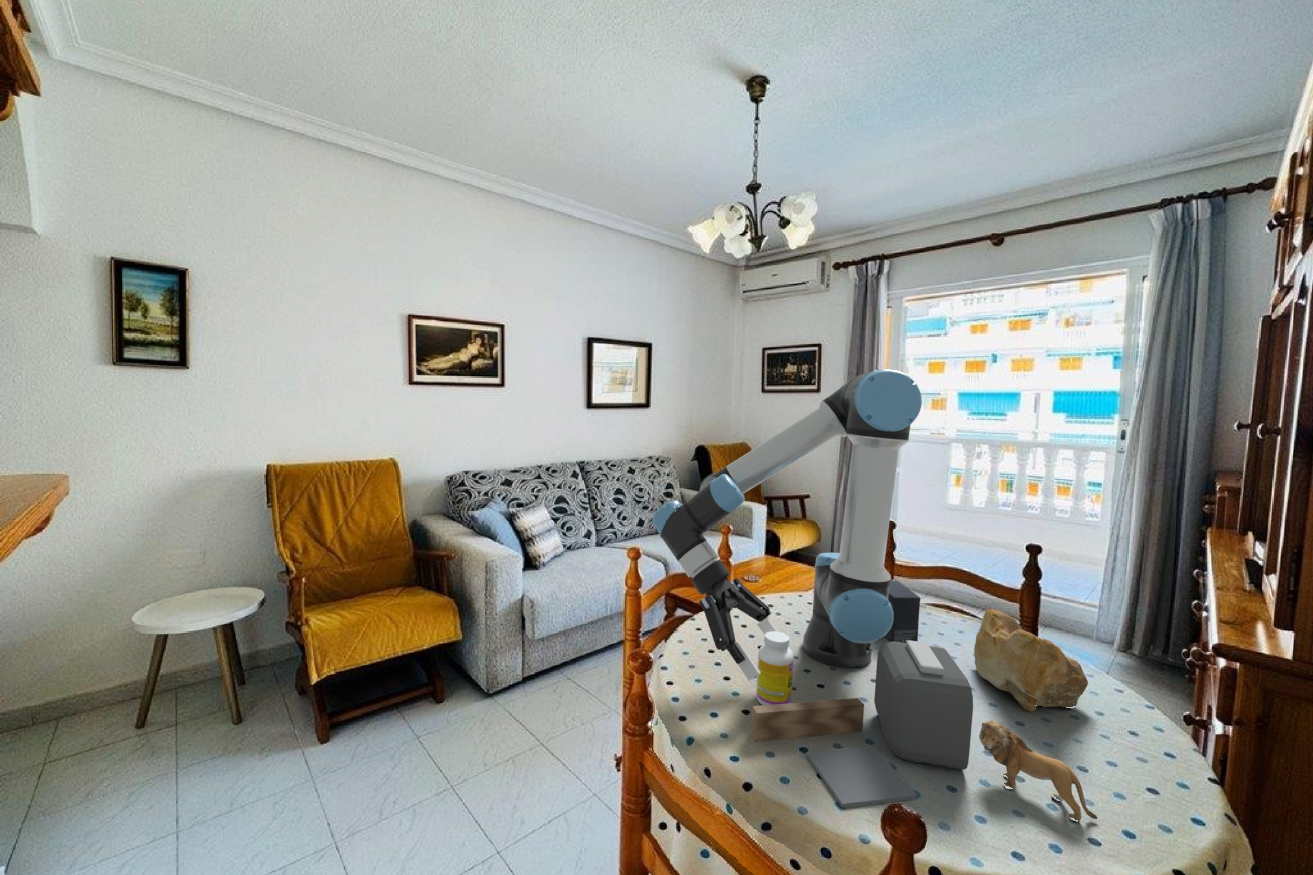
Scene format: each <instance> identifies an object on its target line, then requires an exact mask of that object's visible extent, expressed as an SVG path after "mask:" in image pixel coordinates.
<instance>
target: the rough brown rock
mask: <svg viewBox="0 0 1313 875" xmlns="http://www.w3.org/2000/svg"><path fill="white" fill-rule="evenodd" d="M973 656H974V665H975V669H976V671H977V673H978V675H979V676H980V677H981V678H983V679H984V680H987V681H988V682H990V684H992V685H993V687H994V688H996V689H998V690H1001V691H1004V692H1007V693H1009V694H1011V695H1012V696H1013V698H1014V699H1015V700H1016V701H1017V703H1018V704H1019V706H1021V707H1022V708H1023V709H1024V710H1025V709H1026V710H1028V711H1027V712H1034V711H1036V710H1037V709H1036V708H1037V707H1038V706H1043V707H1042V708H1051V707H1054V708H1055V707H1062V708H1064V707H1065V708H1064V709H1067V708H1066V707H1073V706H1076V705H1077V706H1078V701H1079V699H1080V697H1081V696H1082V695H1083V694H1084V692H1085V690H1086V689H1087V687H1088V686H1089V681H1088V678H1087V677H1086V674H1085V672H1084V671H1083V668H1082V665H1081V664H1080V663H1079V662H1078V660H1075V659H1073V658H1071V657H1068V656H1066V655H1065V654H1064V652H1063V651H1062V649H1061V647H1059V646H1058V645H1056V644H1055V643H1054V642H1052V641H1051V640H1049V639H1046V638H1041V637H1038V636H1036V635H1035V634H1033V633H1031V632H1029V631H1026V630H1024V629H1023V628H1022V626H1021V625H1020V624H1019V623H1018V622H1017V621H1016V619H1015V617H1012V616H1011V615H1008V614H1007V613H1004V612H1002V611H1001V610H997V609H994V608H988V609H985V612H984V614H983V617H982V620H981V624H980V628H979V631H978V632H977V633H976V637H975V644H974V648H973ZM1036 705H1037V706H1036ZM1077 706H1076V707H1077ZM1026 710H1025V711H1026ZM1033 710H1034V711H1033Z"/></svg>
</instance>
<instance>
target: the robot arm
mask: <svg viewBox="0 0 1313 875" xmlns="http://www.w3.org/2000/svg"><path fill="white" fill-rule="evenodd" d="M922 402H923V400H922V393H921V390H920V388H919V386H918V385H917V382H915V381H914V379H912V378H911V376H909V375H907V374H906V373H904V372H902V371H899V370H895V369H888V368H886V369H879V368H878V369H874V370H873V371H870V372H864V373H861V374H858V375H856V376H854V377H852V378H851V379H850V380H848V381H847V382H846V383H845V384H844V385H842V386H840V387H839V389H837V390H836V391H834V392H833V393H831V394H829V396H827V397H826V398H824V399H822V400H821V401H820V402H819V407H818V408H817V409H815V410H814V411H812V412H810V413H809V414H807V415H806V416H804V417H803V418H801V419H799V420H798V421H796V422H794V423H793V424H791V425H789V426H788V427H786V428H785V429H783V430H782V431H781V432H778V433H777V434H775V435H773V437H771V438H769V439H768V440H766V441H765V442H764V441H763V443H761V444H760V445H757V447H755V448H753V449H751V450H750V451H748V452H747V453H745V454H744V455H742V456H741V457H738V458H737V459H736V460H734V461H732V462H731V463H729V464H728V465H726V466H725V467H723V468H721V469H720V470H718V471H717V472H715V473H711V474H709V475H707V476H706V477H705V478H704V479H702V481H701V483H700V486H699V491H698V492H697V493H696V494H694V496H692V497H690V499H688V500H687V501H686V502H684V503H681V502H680V501H679V500H677V499H676V500H671V501H668V502H667V503H666V504H664V505H662V506H661V507H660V508H659V509H657V510H656V511H654V514H653V515H652V518H651V522H652V524H653V527H654V528H655V529H656V531H657V533H658V534H659V537H660V538H661V539H662V540H663V542H664V543H665V545H666V546H667V547H668V550H670V552H671V553H672V555H673V556H674V558H675V560H677V562H678V563H679V565H680V566H681V568H682V569H683V571H684V572H685V575H686V576H687V577H688V578H692V579H691V583H692V585H693V586H694V587H695V589H696V591H697V592H698V594H699V595H700V596H701V595H702V596H703V595H704V594H705V596H704V597H703V598H701V600H699V601H698V604H699V605H700V607H701V608H702V611H703V613H704V614H705V618H706V621H707V624H708V627H709V631H710V634H711V637H712V640H713V642H714V646H715V648H716V650H718V651H720V650H721V652H725V651H726V650H727V652H728V653H729V654H730V657H732V659H733V660H734V662H735V663H736V665H738V667H739V668H740V670H741V672H742V673H743V674H744V676H745V678H747V680H748V681H751V680H753V679H754V678H757V675H759V674H760V673H761V672H760V670H759V669H758V665H756V663H755V662H754V660H753V659H752V657H751V656H750V654H749V653H748V651H747V649H746V648H745V646H744V645H743V644H742V642H741V641H740V640H738V641H736V637H735V636H736V635H735V631H734V626H733V620H732V616H731V611H732V609H737V610H739V611H741V612H742V613H743V614H746V615H747V616H749V617H750V618H753V620H755V621H757V622H759V623H757V626H758V628H759V629H760V631H761V632H762V634H763V635H764V636H765V633H767V632H770V631H777V632H779V631H778V629H777V627H776V626H775V625H774V624H773V622H772V621H771V619H770V618H769V616H771V614H772V612H771V610H770V607H769V605H767V604H766V603H764V601H762V600H761V599H760V598H759V597H758V596H756V594H754V593H753V592H752V591H751V590H749V588H748V587H746V586H745V585H744V584H743V582H741V580H740V579H739V578H738V577H735V578H734V579H733V580H731V581H730V580H729V579H728V578H729V576H730V570H728V569H727V567H726V565H725V564H724V563H723V562H722V560H719V559H718V557H719V555H718V554H717V552H716V550H714V549H713V547H712V545H711V544H710V543H709V541H708V540H707V539H706V538H705V536H704V534H705V533H706V532H708V531H709V530H710V529H711V528H713V527H714V526H715V525H716V524H718V523H720V521H722V520H723V519H724V518H726V517H727V516H729V515H731V513H733V512H735V511H736V509H737V508H739V506H741V505H743V503H744V502H745V500H746V498H745V495H744V494H745V493H747V492H748V491H750V490H752V489H753V488H755V487H757V486H758V485H760V484H762V483H764V481H767V480H768V479H769V478H772V477H773V476H775V475H777V474H778V473H780V472H781V471H783V470H785V469H786V468H788V467H789V466H791V465H793V464H794V463H796V462H798V461H799V460H801V459H803V458H804V457H806V456H807V455H809V454H811V453H813V452H814V451H815V450H818V449H819V448H821V447H822V446H824V445H825V444H828V443H829V442H831V441H832V440H834V439H835V438H837V437H841V438H842V437H843V438H846V437H847V438H848V439H849V441H850V442H851V444H852V446H851V455H850V462H849V463H850V464H849V471H848V481H847V488H846V497H845V503H844V504H845V506H844V512H843V513H844V514H843V519H842V520H843V522H842V523H843V524H842V528H841V530H842V531H841V538H840V548H839V552H821V553H819V554H818V555H817V556H816V558H815V565H814V582H813V584H814V586H813V601H812V602H813V604H812V615H811V618H810V620H809V623H808V624H807V627H806V630H805V633H804V635H803V640H802V648H803V650H804V652H805V653H806V654H807V655H808V656H809V657H811V658H812V659H813V660H814V659H815V660H816V661H819V663H820V662H821V663H823V664H826V665H830V666H832V667H833V666H834V667H840V668H849V669H850V668H861V667H864V666H867V665H868V664H870V662H871V661H872V656H873V654H872V653H873V648H872V644H871V643H874V642H877V641H878V640H880V639H881V638H883V637H884V636H885V635H886V634H887V633H888V632H889V630H890V629H891V627H892V624H893V620H894V614H893V609H892V605H891V603H890V602H889V600H888V596H889V588H890V579H892V578H891V577H892V575H891V574H890V573H889V571H888V570H887V569H886V568H885V560H886V551H887V543H888V537H889V536H888V535H889V529H890V519H891V513H892V504H893V497H894V489H895V481H896V472H897V466H898V460H899V459H898V457H899V451H900V448H902V447H903V446H904V445H906V444H907V443H908V442H909V440H910V432H911V425H912V423H914V421H915V420H916V419H917V418H918V416H919V414H920V412H921V410H922ZM884 638H885V637H884Z"/></svg>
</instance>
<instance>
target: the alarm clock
mask: <svg viewBox="0 0 1313 875" xmlns="http://www.w3.org/2000/svg"><path fill="white" fill-rule="evenodd" d="M875 670H876V671H875V672H876V674H875V687H874V697H873V698H874V700H873V702H874V706H875V709H876V713H877V716H878V718H879V721H880V724H881V728H882V731H883V733H884V735H885V739H886V742H887V745H888V746H889V748H890V749H891V751H893V753H895V755H896V756H897V757H898V758H900V759H903V760H905V761H909V762H915V763H921V764H927V765H933V766H937V767H944V768H945V767H946V768H951V769H956V770H963V771H964V770H966V769H968V766H969V761H970V750H971V748H970V747H971V738H972V727H973V714H974V713H973V711H974V695H973V690H972V687H971V684H970V682H969V680H968V679H967V677H966V675H965V674H964V673H963V671H962V670H961V669H960V667H959V666H958V664H957V663H956V662H955V660H954V659H953V657H952V656H951V654H949V652H948V650H947V649H946V648H944V647H941V646H931V645H928V643H927V642H926V641H925V642H924V641H910V640H907V641H906V643H901V642H889V641H887V642H885V643H883V644H882V645H881V646H879V648H878V652H877V657H876V669H875Z"/></svg>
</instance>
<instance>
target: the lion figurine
mask: <svg viewBox="0 0 1313 875" xmlns="http://www.w3.org/2000/svg"><path fill="white" fill-rule="evenodd" d="M978 738H979V741H980V743H981V745H982V746H983V748H984V750H985V751H986V752H988V753H989V754H990V755H991V756H992V758H993V759H994V761H995V762H997V763H999V764H1001V765H1002V766H1005V768H1006V772H1004V773H1005V774H1004V773H1003V775H1006V776H1007V777H1008V779H1007V780H1008V782H1006V781H1005V782H1006V783H1005V782H1003V783H1004V784H1005V785H1006V786H1009V787H1011V788H1014V789H1015V787H1016V786H1017V785H1016V783H1017V782H1016V779H1017V775H1018V774H1020V771H1021V772H1023V773H1025V775H1028V776H1030V777H1032V778H1033V779H1037V780H1041V781H1051V783H1052V785H1053V787H1054V789H1055V790H1056V791H1057V793H1058V794H1057V793H1052V794H1053V795H1054V797H1056V799H1058V800H1060V801H1061V802H1065V803H1066V804H1067V805H1068V807H1070V809H1071V810H1072V811H1073V813H1068V815H1069V816H1070V817H1071V818H1074V819H1075V820H1078V821H1080V820H1082V812H1081V807H1082V809H1083V811H1084V812H1085V814H1086V815H1087V816H1088V817H1090V818H1091V819H1094V820H1098V816H1097V815H1096V814H1095V813H1093V812H1092V811H1091V810H1089V808H1088V807H1087V804H1086V799H1085V796H1084V791H1083V788H1082V784H1081V783H1080V780H1079V778H1078V776H1077V774H1075V772H1074V771H1073V769H1072V768H1071V767H1070V766H1069V765H1067V764H1066V763H1065V762H1063V761H1062V760H1059V759H1056V758H1053V757H1048V756H1045V755H1043V754H1041V753H1038V752H1036V751H1034V750H1032V749H1031V748H1030V747H1029V746H1028V744H1026V742H1025V741H1024V739H1023V738H1021V737H1020V736H1018V735H1017V734H1016V733H1014V732H1012V730H1011V729H1010V728H1008V727H1007V726H1005V725H1003V723H1000V722H997V721H993V720H988V721H985V722H981V728H980V732H979V737H978ZM1073 784H1074V785H1075V788H1076V792H1077V795H1078V798H1079V802H1080V804H1081V806H1080V805H1079V803H1078V802H1077V801H1076V800H1075V798H1074V795H1073V792H1072V790H1073V789H1072V788H1073V787H1072V786H1073ZM1069 816H1068V817H1069ZM1080 822H1081V821H1080Z"/></svg>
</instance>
